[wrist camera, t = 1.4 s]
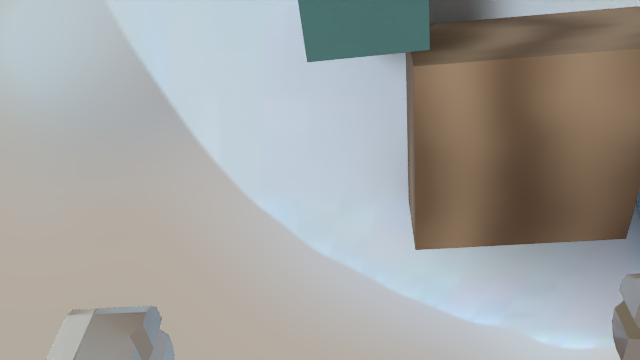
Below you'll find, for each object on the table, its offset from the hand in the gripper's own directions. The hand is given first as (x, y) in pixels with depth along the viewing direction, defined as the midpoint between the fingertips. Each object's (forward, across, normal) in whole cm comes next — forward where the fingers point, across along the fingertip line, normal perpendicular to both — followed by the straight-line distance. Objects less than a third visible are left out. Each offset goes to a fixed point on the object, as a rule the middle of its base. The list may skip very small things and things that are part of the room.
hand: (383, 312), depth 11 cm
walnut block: (+24, -8, +11) cm, 28 cm away
